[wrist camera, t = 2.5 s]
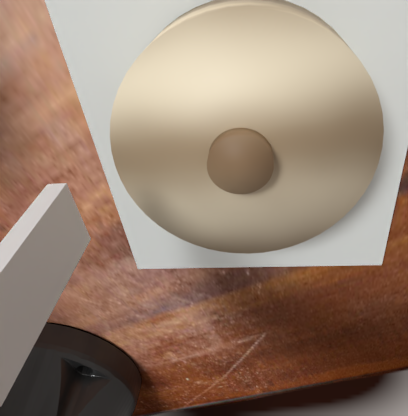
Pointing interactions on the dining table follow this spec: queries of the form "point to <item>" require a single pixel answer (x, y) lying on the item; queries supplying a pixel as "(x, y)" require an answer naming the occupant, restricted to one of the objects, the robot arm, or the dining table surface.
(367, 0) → the mat
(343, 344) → the dining table surface
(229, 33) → the lid
